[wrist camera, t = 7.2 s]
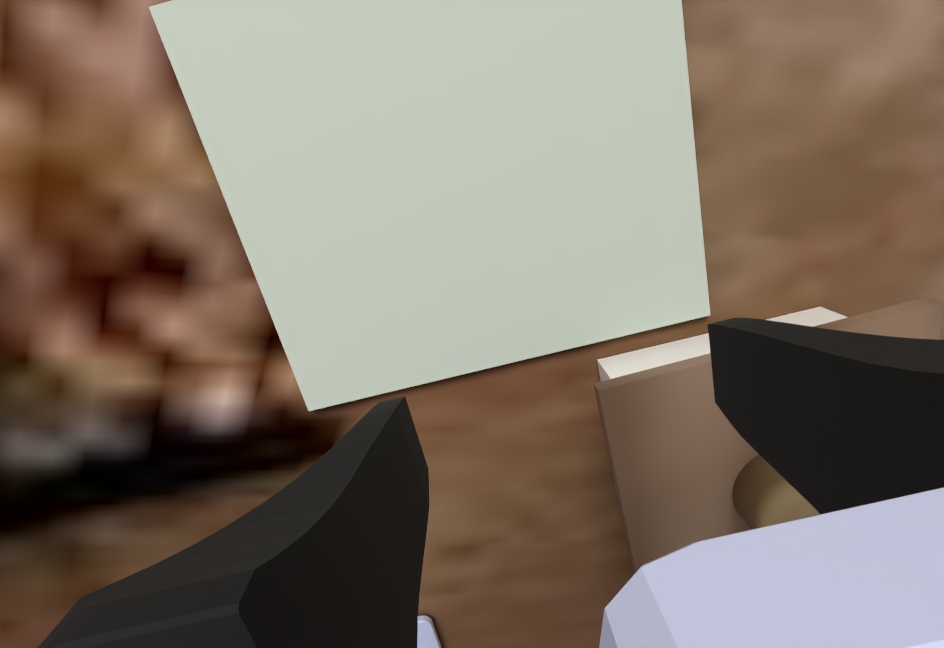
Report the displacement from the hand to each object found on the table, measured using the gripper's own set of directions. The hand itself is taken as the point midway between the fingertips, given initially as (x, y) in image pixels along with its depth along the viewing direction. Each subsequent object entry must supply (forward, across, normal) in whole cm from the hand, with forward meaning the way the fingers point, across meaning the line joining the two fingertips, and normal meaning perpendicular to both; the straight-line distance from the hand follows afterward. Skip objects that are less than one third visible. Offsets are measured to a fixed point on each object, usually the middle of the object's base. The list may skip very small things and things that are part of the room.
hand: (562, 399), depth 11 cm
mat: (+10, +1, -5) cm, 11 cm away
